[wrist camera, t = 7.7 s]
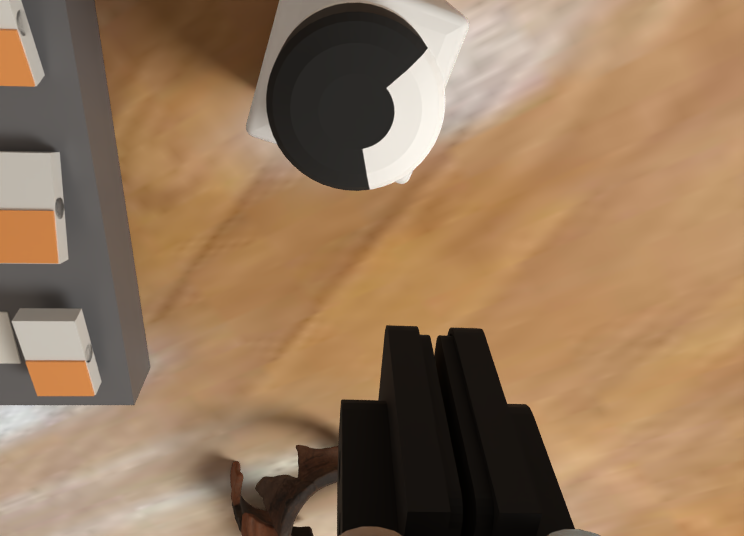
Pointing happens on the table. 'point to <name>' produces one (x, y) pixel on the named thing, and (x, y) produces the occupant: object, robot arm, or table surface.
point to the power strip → (74, 210)
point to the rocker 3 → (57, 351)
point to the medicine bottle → (356, 86)
